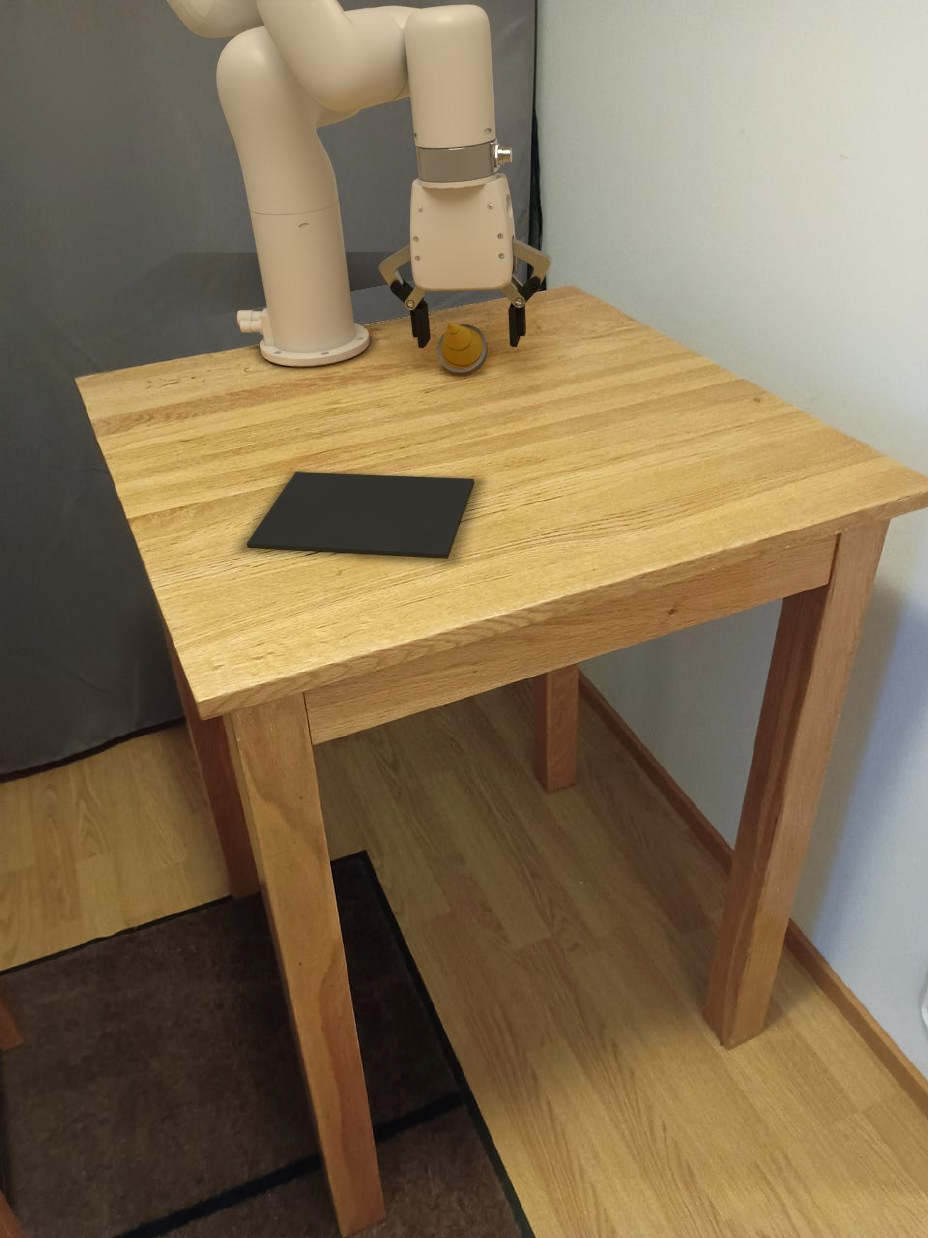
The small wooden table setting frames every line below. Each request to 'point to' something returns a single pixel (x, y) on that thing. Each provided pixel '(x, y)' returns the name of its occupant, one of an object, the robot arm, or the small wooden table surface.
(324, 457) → the small wooden table surface
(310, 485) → the mat
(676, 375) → the small wooden table surface
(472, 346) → the yellow cone
